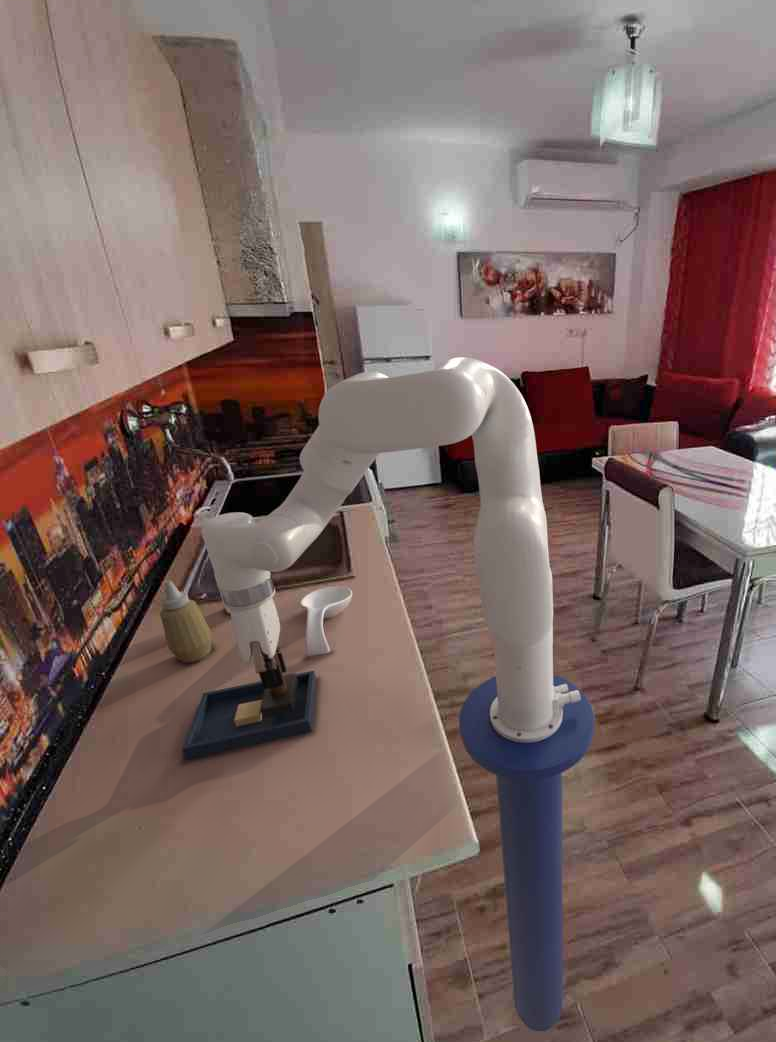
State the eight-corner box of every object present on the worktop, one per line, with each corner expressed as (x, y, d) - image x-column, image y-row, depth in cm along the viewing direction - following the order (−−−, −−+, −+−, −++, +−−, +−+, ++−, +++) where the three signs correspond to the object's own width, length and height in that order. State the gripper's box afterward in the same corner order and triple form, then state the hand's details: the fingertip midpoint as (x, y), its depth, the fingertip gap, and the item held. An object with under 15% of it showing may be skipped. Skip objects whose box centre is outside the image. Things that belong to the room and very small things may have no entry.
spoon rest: (307, 601, 126) (301, 576, 123) (356, 594, 128) (351, 569, 125) (290, 661, 105) (282, 632, 102) (349, 651, 107) (342, 623, 104)
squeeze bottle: (218, 639, 113) (193, 568, 106) (214, 660, 107) (187, 586, 99) (177, 649, 111) (149, 577, 103) (171, 671, 104) (139, 596, 96)
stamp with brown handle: (269, 687, 94) (255, 643, 90) (298, 681, 95) (285, 637, 91) (262, 718, 87) (247, 671, 83) (293, 711, 88) (280, 665, 84)
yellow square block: (264, 705, 93) (262, 699, 92) (260, 721, 89) (258, 715, 89) (240, 710, 92) (238, 704, 91) (236, 726, 88) (233, 720, 88)
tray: (316, 680, 99) (313, 670, 98) (311, 731, 87) (308, 720, 86) (207, 703, 95) (203, 692, 94) (186, 760, 83) (181, 749, 82)
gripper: (233, 569, 87) (260, 655, 95) (210, 621, 73) (244, 717, 81) (279, 562, 89) (302, 647, 97) (265, 612, 75) (293, 707, 83)
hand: (275, 678), depth 89 cm, fingers closed on stamp with brown handle, 2 cm apart
